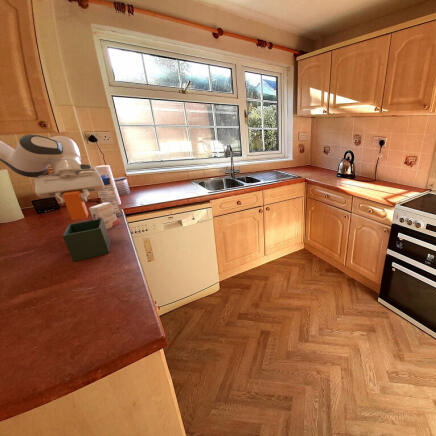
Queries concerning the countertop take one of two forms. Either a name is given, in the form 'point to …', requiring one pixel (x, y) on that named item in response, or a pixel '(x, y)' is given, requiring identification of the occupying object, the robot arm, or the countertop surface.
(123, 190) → the can
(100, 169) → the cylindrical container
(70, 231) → the dark green open box
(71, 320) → the countertop surface
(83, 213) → the block
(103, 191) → the beverage box
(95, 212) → the ink box
